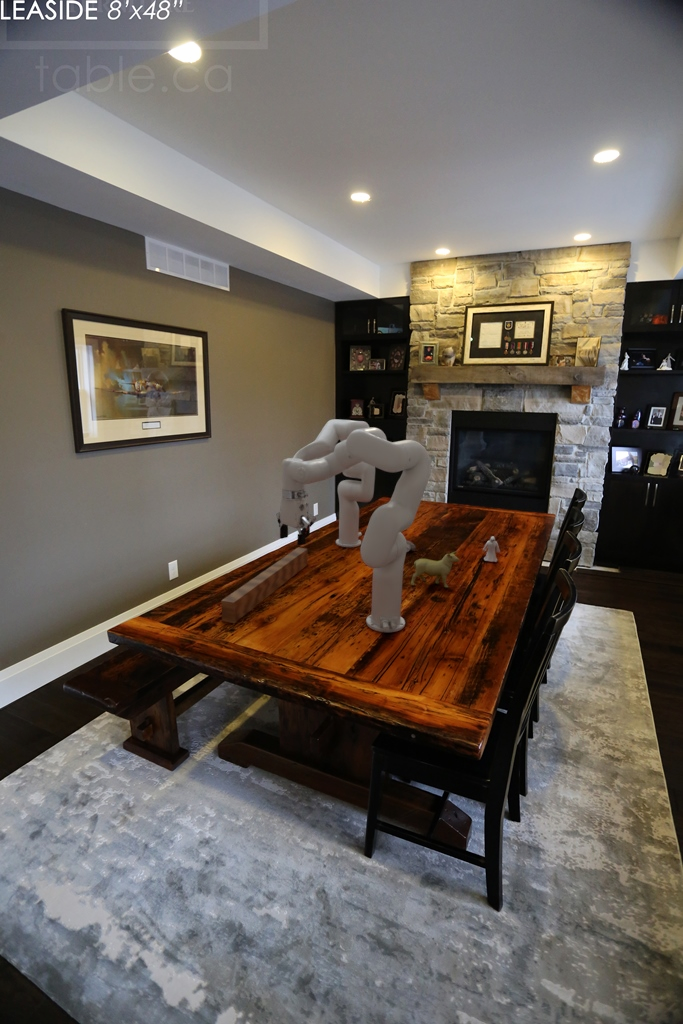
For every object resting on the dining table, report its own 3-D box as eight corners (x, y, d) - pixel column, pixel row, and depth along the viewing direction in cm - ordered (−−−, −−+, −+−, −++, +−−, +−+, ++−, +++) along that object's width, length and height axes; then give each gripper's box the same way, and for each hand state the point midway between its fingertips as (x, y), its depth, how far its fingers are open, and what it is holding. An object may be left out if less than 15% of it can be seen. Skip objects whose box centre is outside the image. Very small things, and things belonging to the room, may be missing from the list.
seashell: (403, 559, 235) (392, 546, 235) (408, 552, 239) (398, 539, 238) (414, 554, 229) (403, 541, 228) (419, 547, 233) (409, 534, 232)
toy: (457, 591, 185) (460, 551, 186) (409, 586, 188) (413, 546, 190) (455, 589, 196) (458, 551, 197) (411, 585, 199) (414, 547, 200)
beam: (234, 623, 161) (233, 602, 159) (222, 621, 163) (221, 600, 161) (307, 564, 215) (307, 548, 214) (297, 563, 217) (297, 547, 215)
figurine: (481, 562, 222) (483, 536, 219) (482, 556, 230) (484, 531, 227) (499, 564, 220) (501, 538, 217) (499, 558, 228) (501, 533, 225)
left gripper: (319, 495, 203) (318, 535, 207) (280, 491, 208) (281, 530, 212) (312, 498, 196) (311, 540, 200) (272, 494, 201) (273, 535, 206)
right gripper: (317, 497, 170) (316, 544, 174) (285, 488, 182) (285, 533, 186) (300, 500, 165) (300, 549, 169) (269, 491, 176) (269, 537, 181)
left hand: (296, 535), depth 206 cm, fingers open, 9 cm apart
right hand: (292, 541), depth 178 cm, fingers open, 9 cm apart
